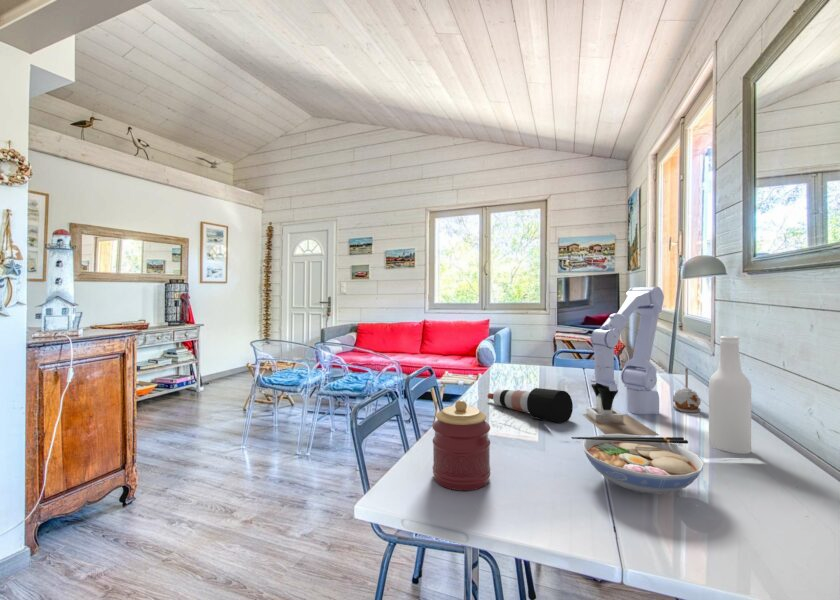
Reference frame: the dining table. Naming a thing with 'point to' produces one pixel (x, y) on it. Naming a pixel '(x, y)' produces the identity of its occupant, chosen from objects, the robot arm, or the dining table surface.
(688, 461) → the ramen bowl
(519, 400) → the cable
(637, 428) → the board
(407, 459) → the dining table surface
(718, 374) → the alcohol
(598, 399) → the connector plug
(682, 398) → the caramel apple
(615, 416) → the end holder
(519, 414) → the dining table surface
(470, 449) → the canister
